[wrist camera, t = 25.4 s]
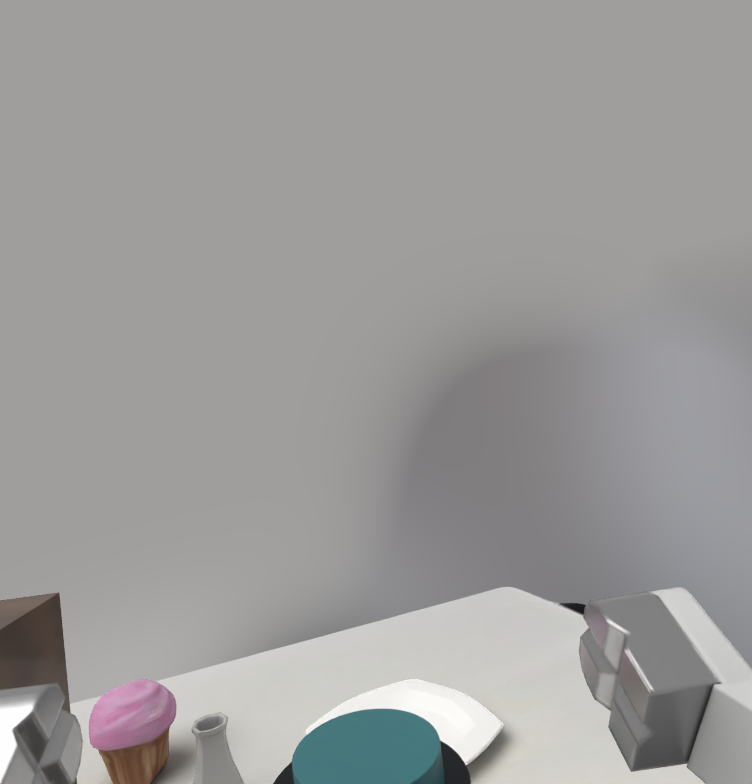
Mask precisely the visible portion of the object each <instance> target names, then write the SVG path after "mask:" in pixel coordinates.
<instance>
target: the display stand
mask: <svg viewBox="0 0 752 784" xmlns="http://www.w3.org/2000/svg"><path fill="white" fill-rule="evenodd" d="M440 743H441V751H442V760H443V768H444V776H445V784H471V779H470V775H469V771H468V769H467V767H466V765H465V763H464V761H463V760H462V758H461V757H460V756H459V754H458V753H457V752H456V751H455V750H454V749H453V748H451V747H450V746H448V745H447V744H446V743H444V742H442V741H441V740H440ZM273 784H294V781H293V771H292V762H291V763H290V764H289V765H288V766H287V767H286V768H285V769H284V770H283V771H282V772H281V774H280V775H279V776H278V777H277V779H276V780H275V782H274V783H273Z"/></svg>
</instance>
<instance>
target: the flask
mask: <svg viewBox="0 0 752 784" xmlns="http://www.w3.org/2000/svg"><path fill="white" fill-rule="evenodd" d="M227 721H228V717H227V716H226V715H224V714H222V713H215V714H210V715H206V716H204V717H202V718H200V719H198V720H196V721H194V724H193V726H192V733H193V734H194V735H195V736H196V742H197V761H196V773H195V778H194V783H193V784H244V782H243V780H242V778H241V776H240V773H239V771H238V769H237V767H236V765H235V763H234V761H233V759H232V756H231V753H230V749H229V746H228V742H227V738H226V725H227Z"/></svg>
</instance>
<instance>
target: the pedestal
mask: <svg viewBox="0 0 752 784" xmlns="http://www.w3.org/2000/svg"><path fill="white" fill-rule="evenodd" d="M51 683H58V685H59V686H60V688H61V690H62V691H63V693H64V695H65V696H66V697H65V700H64V702H63V705H62V708H61V709H63V710H65V711H67V712H69V713H70V703H69V694H68V683H67V671H66V660H65V650H64V639H63V628H62V617H61V607H60V597H59V593H53V594H45V595H38V596H30V597H23V598H16V599H10V600H9V599H8V600H1V601H0V690H3V689H11V688H19V687H27V686H35V685H43V684H51ZM74 784H77V779H75V782H74Z"/></svg>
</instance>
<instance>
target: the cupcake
mask: <svg viewBox="0 0 752 784" xmlns="http://www.w3.org/2000/svg"><path fill="white" fill-rule="evenodd" d="M175 716H176V701H175V698H174V696H173V694H172V693H171V692H170V691H169V690H168V689H167V688H165V687H164V686H163V685H161V684H159V683H157V682H155V681H152V680H147V679H145V680H135V681H132V682H129V683H127V684H125V685H122V686H119V687H116V688H114V689H112V690H110V691H108V692H107V693H106V694H105V695H103V696H102V697H101V698H100V699H99V700H98V701H97V703H96V704H95V706H94V707H93V711H92V713H91V716H90V721H89V735H90V743H91V744H92V746H93V747H94V748H96V749H98V750H99V753H100V755H101V756H102V758H103V761H104V763H105V765H106V768H107V770H108V773H109V775H110V778H111V780H112V782H113V784H150V783H151V782H152V781H153V779H154V778H155V777H156V775H157V774H158V773H159V771H160V770H161V769H162V768H163V766H164V765H165V764H166V762H167V759H168V755H169V728H170V725H171V724H172V723H173V721H174V719H175Z"/></svg>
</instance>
